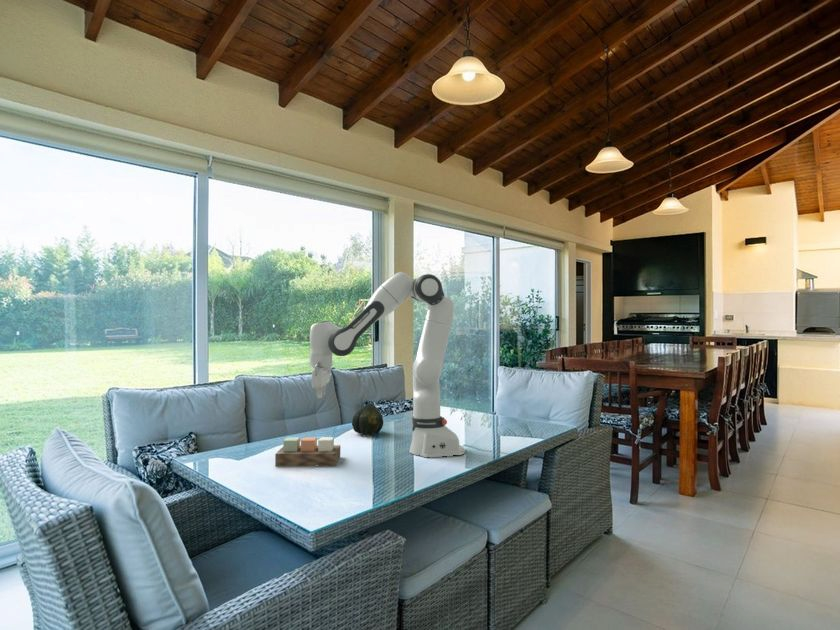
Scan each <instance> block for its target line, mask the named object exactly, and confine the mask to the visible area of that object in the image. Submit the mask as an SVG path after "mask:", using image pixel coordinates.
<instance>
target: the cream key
mask: <svg viewBox="0 0 840 630" xmlns="http://www.w3.org/2000/svg"><path fill="white" fill-rule="evenodd" d="M317 445H318V451H333V449H334V445H335V437H334V436H333V437H332V436H331V437H330V436H329V437H327V436H325V437H324V436H322V437H320V438H318V439H317Z"/></svg>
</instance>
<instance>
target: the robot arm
mask: <svg viewBox="0 0 840 630" xmlns="http://www.w3.org/2000/svg"><path fill="white" fill-rule="evenodd" d="M408 298H413V299H414V300H415V301H417V302H420V303H425V305H426V315H425V319H424V322H423V327H422V331H421V335H420V338H419V343H418V349H417V353H416V358H415V360H414V362H413V364H412V394H413V395H412V396H413V397H412V400H413V402H412V405H413V406H412V408H413V409H412V413H413V414H412V415H413V416H412V419H411V431H412V436H411V443H410V447H409V450H408V451H409V453H410V454H412V455H415V456H419V455H420V457H424V458H425V459H428V458H427V457H430V458H443V457H442V456H447V457H454V456H453V455H462V454H464V453H465V454H466V449H465V447H464V446H462V445H460V440H459V437H458V435H457V434H456V433H455V432H453V430H451V429H450V427H447V426H446V425H447V424H448V421H447V419H446V418H445V417H444V416H441V389H440V387H441V386H440V378H441V375H442V372H443V371H442V370H443V366H444V362H445V361H444V360H445V355H446V352H447V351H446V350H447V344H448V342H449V337H450V332H451V328H452V324H453V321H454V313H455V311H454V310H455V305H454V304H455V303H454V301H453V300H452V298H449V297H447V296H446V295H445V293H444V289H443V284H442V282H441V281H440V279H439V278H438V277H437V276H436V275H434V274H430V273H427V274H422V275H420V276H418V277H415V278H413V277H411V276H410V275H409V274H407V273H405V272H403V271H398V272H396V273H394V274H392V275H391V276H390V277H389V278H388V279H387V280H385V281H384V282H383V283H382V284H380V285H379V286H378V287H377V289H376V290H375V291H374V292H373V294H372V295H371V296H370V298H369V299H368V301H367V303H366V305H365V307H364V309H362V311H360V313H359V314H358V315H357V316H356V317H355V318H354V319H352V321H351V322H350V323H348V324H347V325H346V326H345V327H340V326H338V325H336V324H334V323H333V322H331V321H330V320H321V321H318V322H317V321H316V322H314V323H313V324H312V325H311V327H310V330H309V346H310V351H309V367H311V368H312V370H311V381H310V382H311V388H312V389H315V391H316V392H315V393H316V397H317V399H322V398H323V397H324V396H325V395H326V387H327V384H328V383H330V380H331V373H332V367H333V354H334V355H335V356H338V357H345V356H348V355H350V354H351V353H352V352H353V350H354V349H355V347H356V344H357V341H358V339H360V337H361V336H363V334H364V333H365V332H366V331H367V330H368V329H369V328H370V327H371V326H372V325H373V324H375V323H376V322H377V321H379V320H381V319H382V318H385V317H387V316H388V315H390V314H391V313H392V312H394V311H395V310H396V309H397V308H399V307H400V306H401V305H402V304H403V303H404V302H405V301H406V300H407V299H408ZM465 454H464V455H465ZM462 456H463V455H462Z"/></svg>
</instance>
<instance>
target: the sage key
mask: <svg viewBox="0 0 840 630" xmlns="http://www.w3.org/2000/svg"><path fill="white" fill-rule="evenodd" d="M282 441H283V443H282V444H283V445H282V447H283V452H293V451H298V450H299V449H300V446H301V437H293V436H289V437H286V438H285V439H283V440H282Z"/></svg>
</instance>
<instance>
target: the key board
mask: <svg viewBox="0 0 840 630" xmlns="http://www.w3.org/2000/svg"><path fill="white" fill-rule="evenodd" d="M274 456H275V459H274V462H275V464H274V465H275V467H335V466H337V464H338V462H339V460H340V459H339V458H341V445H340V444H337V445H336V444H334V449H333V451H318V444H317V449H316V451H301V445H300V449H299V450H298V451H293V452H283V446H282V447H281V448H280V449H279V450H278V451H276V453H275V454H274ZM316 465H318V466H316Z"/></svg>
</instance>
